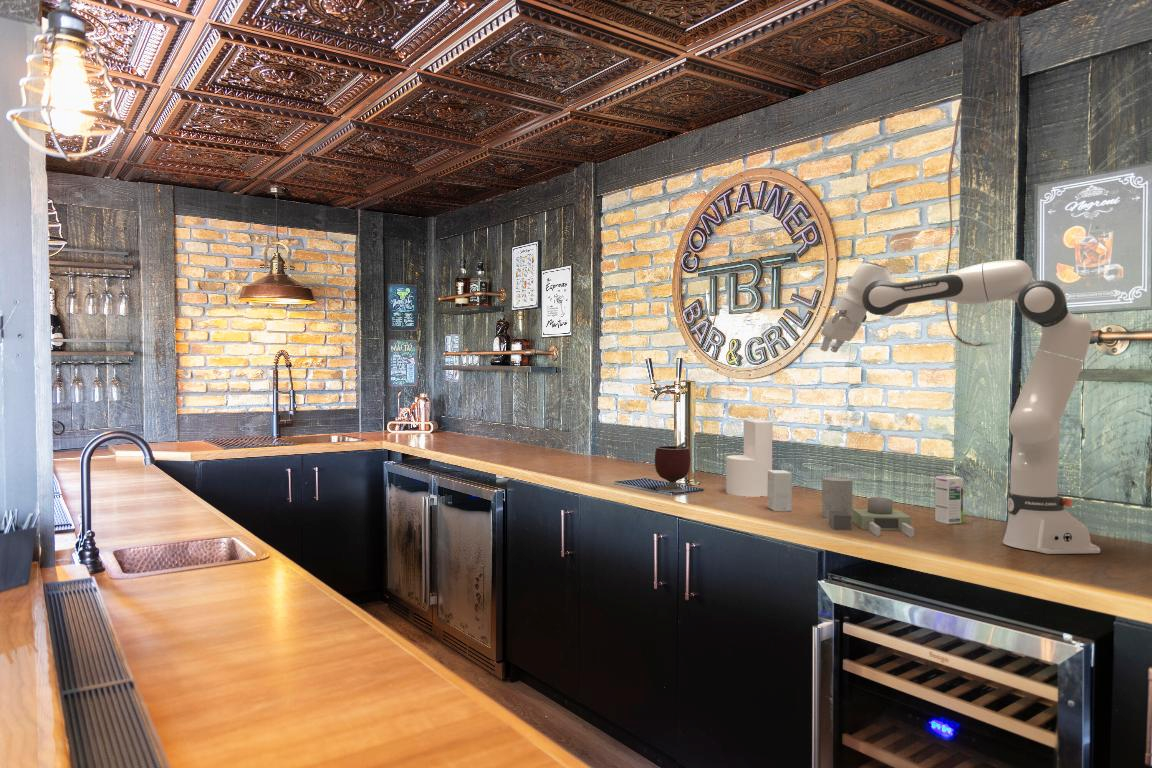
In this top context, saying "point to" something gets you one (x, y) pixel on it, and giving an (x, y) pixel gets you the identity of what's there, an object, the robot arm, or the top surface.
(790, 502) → the small box
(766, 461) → the pale stepped column block
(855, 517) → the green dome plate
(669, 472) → the mate gourd
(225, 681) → the top surface
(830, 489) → the grey concrete cylinder
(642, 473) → the top surface
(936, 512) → the syrup box
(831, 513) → the dark grey box
